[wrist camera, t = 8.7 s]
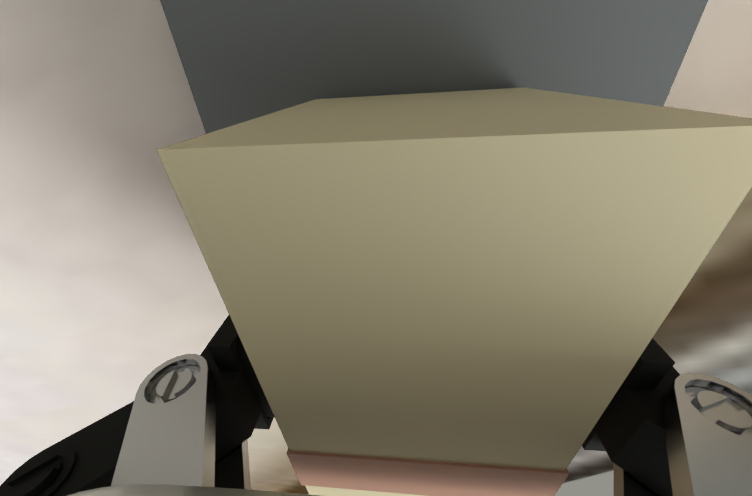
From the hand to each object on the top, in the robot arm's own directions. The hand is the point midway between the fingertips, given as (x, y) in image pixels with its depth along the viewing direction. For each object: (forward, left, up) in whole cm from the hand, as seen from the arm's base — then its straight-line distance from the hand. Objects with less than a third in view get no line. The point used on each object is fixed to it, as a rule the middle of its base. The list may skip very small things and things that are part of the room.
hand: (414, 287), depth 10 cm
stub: (-1, 0, -1) cm, 2 cm away
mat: (-13, 0, -2) cm, 13 cm away
